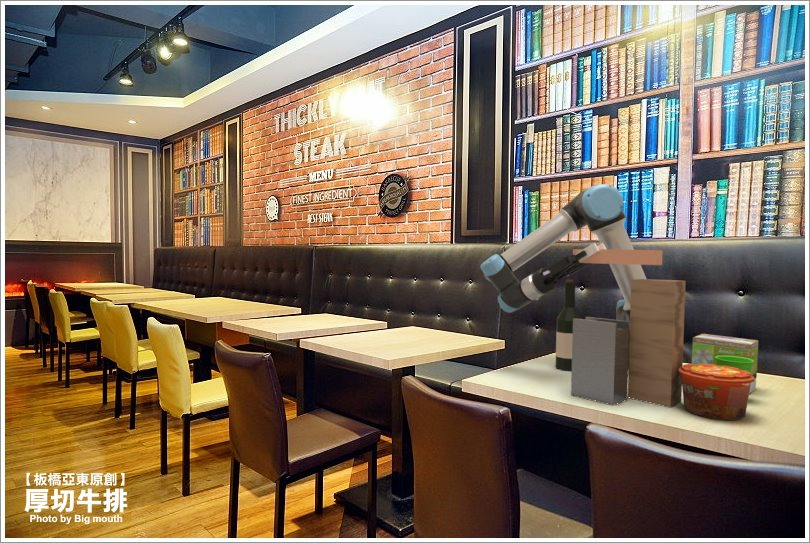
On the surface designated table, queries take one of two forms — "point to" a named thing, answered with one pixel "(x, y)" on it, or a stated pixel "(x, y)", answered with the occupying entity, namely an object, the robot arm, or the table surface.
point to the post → (656, 340)
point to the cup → (735, 362)
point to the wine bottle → (566, 329)
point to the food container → (715, 390)
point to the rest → (600, 359)
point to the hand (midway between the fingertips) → (600, 247)
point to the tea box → (724, 350)
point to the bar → (624, 257)
